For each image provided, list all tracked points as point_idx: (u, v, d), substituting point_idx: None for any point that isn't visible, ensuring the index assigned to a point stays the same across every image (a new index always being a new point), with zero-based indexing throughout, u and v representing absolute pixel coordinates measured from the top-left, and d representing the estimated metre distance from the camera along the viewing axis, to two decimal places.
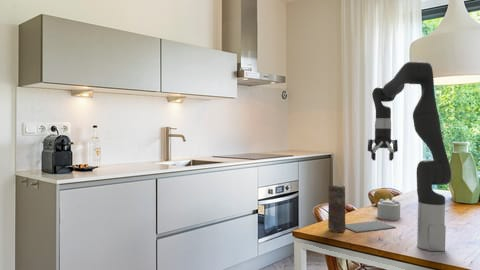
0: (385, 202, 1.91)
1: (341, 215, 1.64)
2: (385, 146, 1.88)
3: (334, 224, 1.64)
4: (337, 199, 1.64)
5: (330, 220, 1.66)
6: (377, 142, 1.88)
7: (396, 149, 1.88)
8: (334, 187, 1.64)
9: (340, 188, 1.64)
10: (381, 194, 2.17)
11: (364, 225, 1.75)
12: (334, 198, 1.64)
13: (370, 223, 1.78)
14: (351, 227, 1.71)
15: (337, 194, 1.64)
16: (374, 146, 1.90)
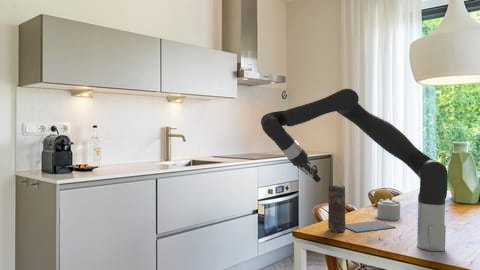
0: (385, 202, 1.91)
1: (341, 215, 1.64)
2: None
3: (334, 224, 1.64)
4: (337, 199, 1.64)
5: (330, 220, 1.66)
6: None
7: None
8: (334, 187, 1.64)
9: (340, 188, 1.64)
10: (381, 194, 2.17)
11: (364, 225, 1.75)
12: (334, 198, 1.64)
13: (370, 223, 1.78)
14: (351, 227, 1.71)
15: (337, 194, 1.64)
16: (309, 172, 1.60)
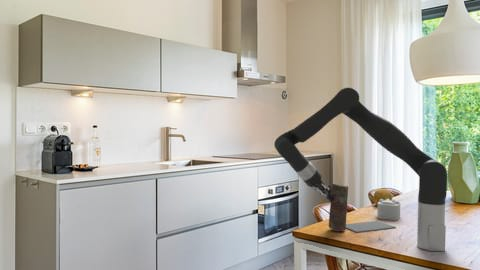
0: (385, 202, 1.91)
1: (342, 215, 1.64)
2: None
3: (335, 222, 1.64)
4: (339, 198, 1.64)
5: (331, 219, 1.66)
6: None
7: None
8: (338, 186, 1.65)
9: (343, 187, 1.64)
10: (381, 194, 2.17)
11: (364, 225, 1.75)
12: (337, 196, 1.65)
13: (370, 223, 1.78)
14: (351, 227, 1.71)
15: (340, 193, 1.64)
16: (323, 192, 1.62)
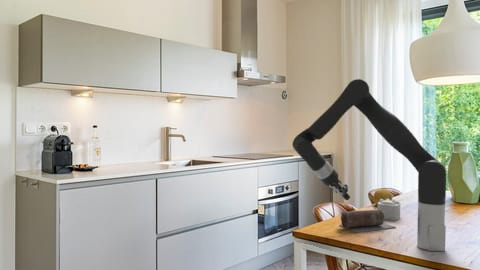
0: (385, 202, 1.91)
1: (361, 219, 1.68)
2: None
3: (352, 213, 1.68)
4: (373, 214, 1.71)
5: (352, 211, 1.71)
6: None
7: None
8: (381, 211, 1.74)
9: (383, 216, 1.72)
10: (381, 194, 2.17)
11: None
12: (373, 212, 1.72)
13: None
14: None
15: (377, 214, 1.72)
16: (339, 190, 1.66)
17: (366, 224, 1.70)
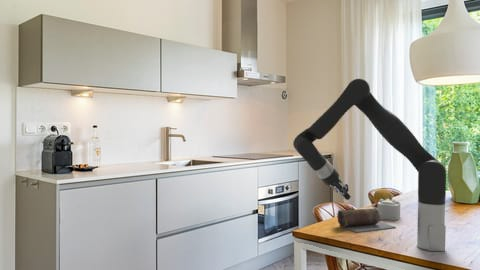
0: (385, 202, 1.91)
1: (356, 212, 1.72)
2: None
3: (345, 210, 1.73)
4: (366, 209, 1.76)
5: None
6: None
7: None
8: None
9: (377, 210, 1.76)
10: (381, 194, 2.17)
11: (364, 225, 1.75)
12: (366, 209, 1.77)
13: None
14: (351, 227, 1.71)
15: (371, 209, 1.76)
16: (340, 190, 1.66)
17: (363, 217, 1.72)
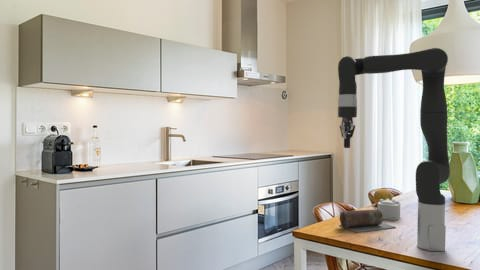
0: (385, 202, 1.91)
1: (360, 216, 1.69)
2: None
3: (350, 211, 1.70)
4: (371, 212, 1.73)
5: None
6: None
7: None
8: (379, 210, 1.75)
9: (381, 214, 1.73)
10: (381, 194, 2.17)
11: None
12: (371, 210, 1.74)
13: None
14: (351, 227, 1.71)
15: (375, 212, 1.73)
16: (345, 131, 1.56)
17: (365, 222, 1.70)
